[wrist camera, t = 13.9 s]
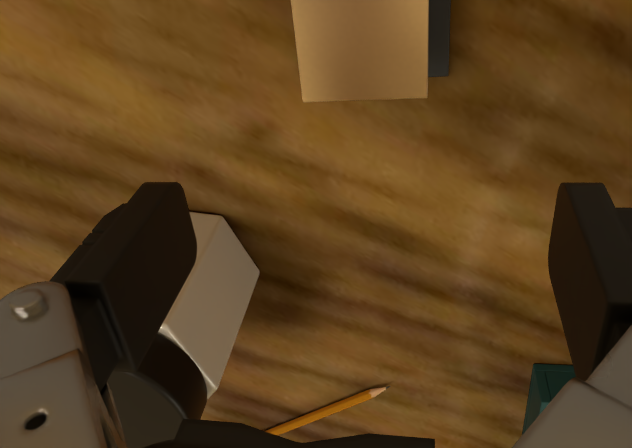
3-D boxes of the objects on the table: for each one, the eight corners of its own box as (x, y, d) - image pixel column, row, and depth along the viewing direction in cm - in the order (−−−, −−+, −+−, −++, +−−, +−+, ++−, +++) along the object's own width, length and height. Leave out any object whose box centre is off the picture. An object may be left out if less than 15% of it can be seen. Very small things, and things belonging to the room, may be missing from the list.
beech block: (427, -63, 24) (428, -40, 20) (426, 56, 27) (427, 98, 23) (309, -53, 25) (286, -29, 21) (320, 61, 27) (302, 103, 23)
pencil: (207, 458, 49) (204, 466, 48) (201, 453, 48) (198, 462, 48) (393, 384, 40) (393, 393, 39) (387, 378, 40) (387, 387, 39)
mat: (453, -95, 23) (453, -93, 23) (448, 73, 27) (448, 76, 27) (285, -79, 25) (283, -78, 24) (303, 79, 29) (301, 82, 28)
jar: (99, 225, 36) (-22, 374, 26) (204, 183, 33) (112, 333, 23) (179, 324, 40) (100, 486, 30) (280, 295, 37) (228, 463, 27)
